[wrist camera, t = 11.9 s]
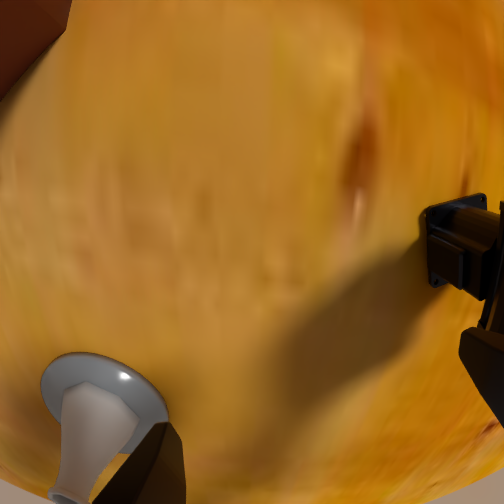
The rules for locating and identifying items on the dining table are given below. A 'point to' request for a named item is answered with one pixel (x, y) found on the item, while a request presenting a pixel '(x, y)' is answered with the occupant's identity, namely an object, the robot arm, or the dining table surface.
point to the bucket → (27, 34)
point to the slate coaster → (105, 388)
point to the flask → (89, 439)
